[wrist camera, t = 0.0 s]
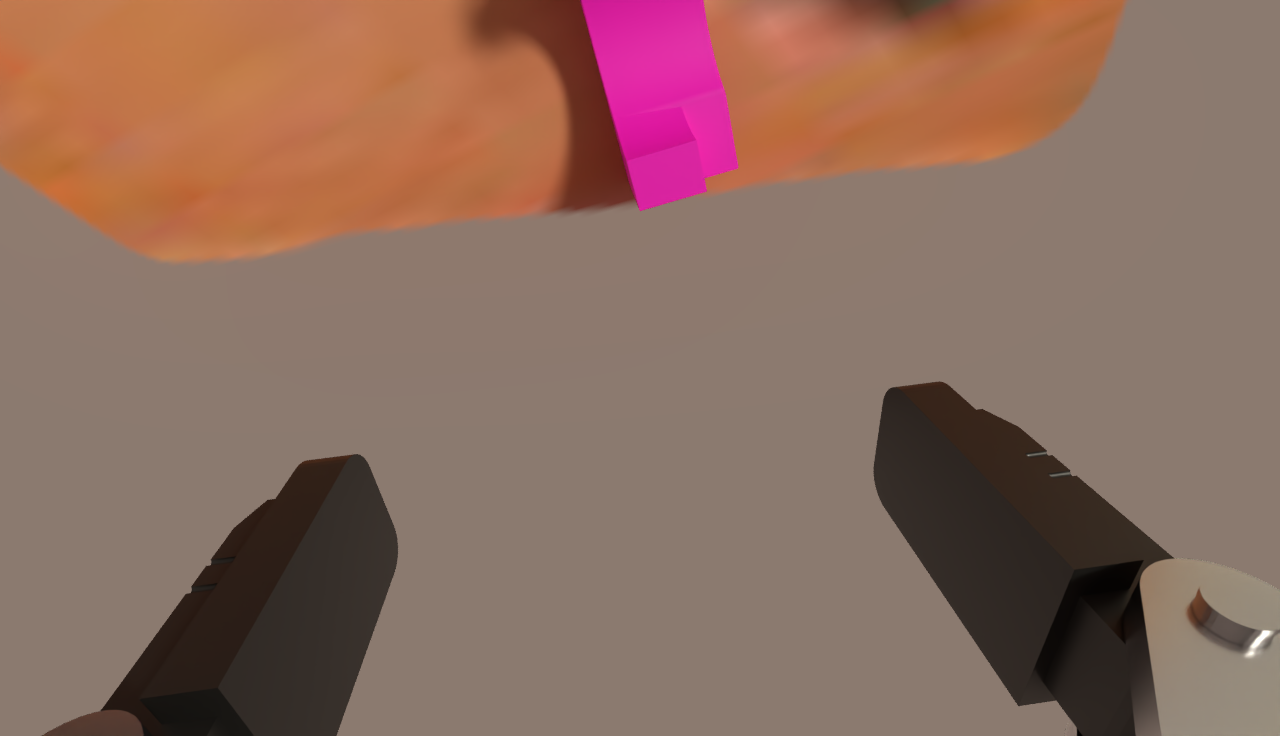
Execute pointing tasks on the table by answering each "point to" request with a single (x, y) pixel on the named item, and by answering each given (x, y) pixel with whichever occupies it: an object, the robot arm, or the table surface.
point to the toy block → (662, 95)
